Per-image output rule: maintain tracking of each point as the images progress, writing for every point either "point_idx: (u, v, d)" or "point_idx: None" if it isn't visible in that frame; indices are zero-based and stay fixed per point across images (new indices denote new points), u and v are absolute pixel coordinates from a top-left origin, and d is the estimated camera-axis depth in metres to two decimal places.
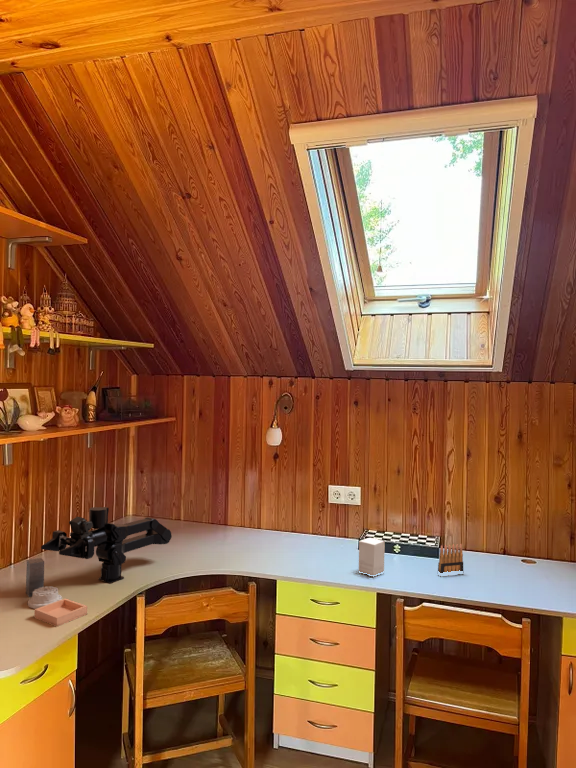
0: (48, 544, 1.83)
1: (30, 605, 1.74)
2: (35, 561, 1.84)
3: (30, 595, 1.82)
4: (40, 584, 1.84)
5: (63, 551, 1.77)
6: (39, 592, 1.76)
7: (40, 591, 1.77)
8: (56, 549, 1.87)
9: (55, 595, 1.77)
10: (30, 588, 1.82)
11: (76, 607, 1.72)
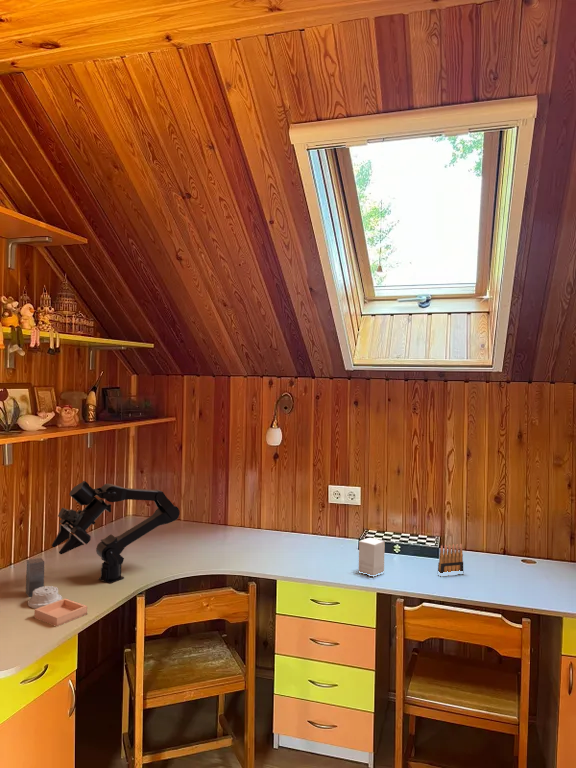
0: (57, 540, 1.93)
1: (30, 604, 1.74)
2: (35, 561, 1.84)
3: (30, 595, 1.82)
4: (40, 584, 1.84)
5: (62, 550, 1.85)
6: (39, 592, 1.76)
7: (40, 591, 1.77)
8: (69, 536, 1.96)
9: (55, 595, 1.77)
10: (30, 588, 1.82)
11: (76, 607, 1.72)
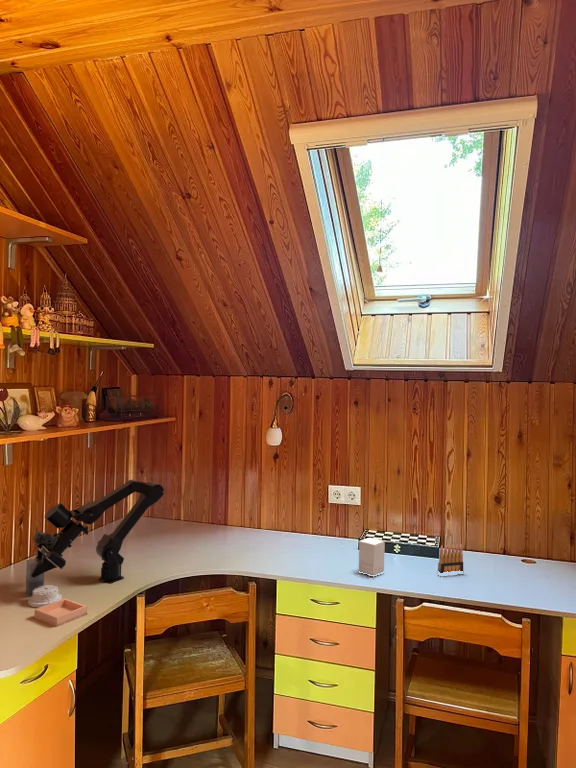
0: None
1: (30, 604, 1.75)
2: (35, 561, 1.84)
3: (30, 595, 1.82)
4: (40, 584, 1.84)
5: (34, 573, 1.82)
6: (39, 591, 1.77)
7: (40, 590, 1.77)
8: None
9: (55, 594, 1.78)
10: (30, 588, 1.82)
11: (76, 607, 1.72)
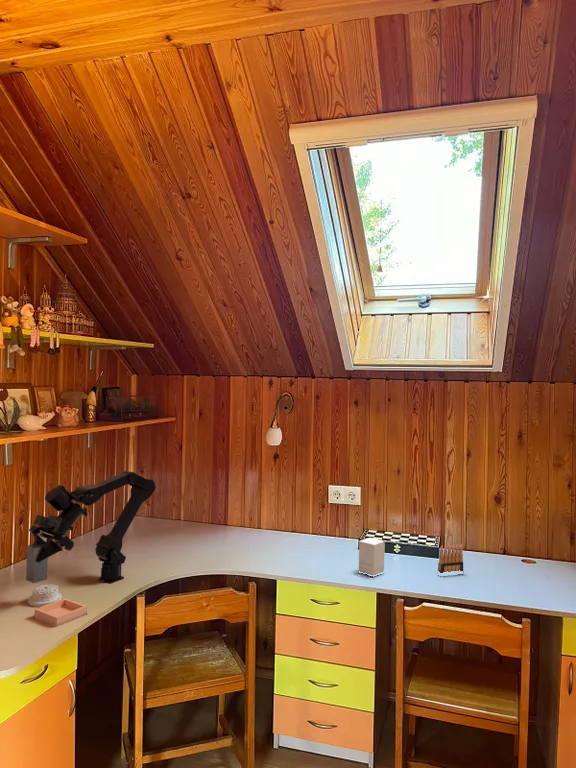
0: None
1: (30, 603, 1.76)
2: (38, 546, 1.77)
3: (34, 581, 1.75)
4: (44, 569, 1.78)
5: (39, 558, 1.76)
6: (39, 590, 1.77)
7: (40, 589, 1.78)
8: None
9: (55, 593, 1.79)
10: (35, 574, 1.75)
11: (76, 607, 1.72)
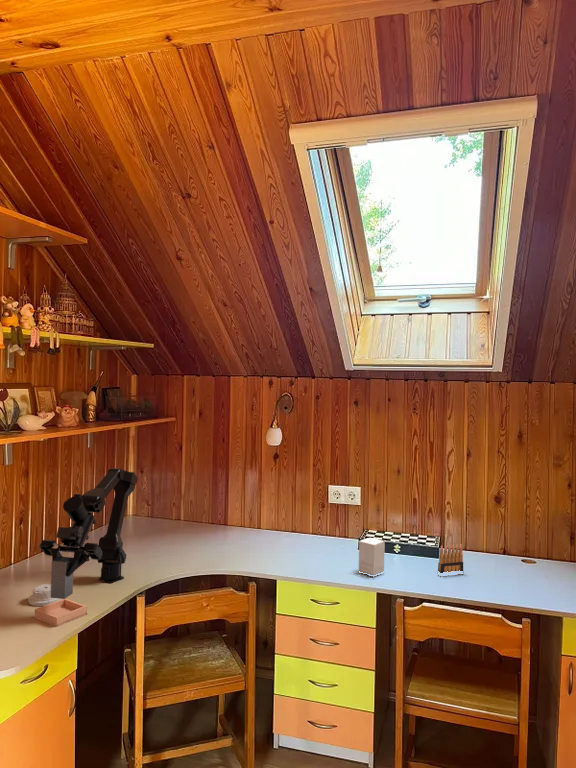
0: None
1: (30, 602, 1.76)
2: (64, 559, 1.68)
3: (65, 596, 1.66)
4: (71, 583, 1.69)
5: (70, 572, 1.67)
6: (39, 590, 1.78)
7: (40, 589, 1.79)
8: None
9: None
10: (65, 589, 1.66)
11: (76, 607, 1.72)
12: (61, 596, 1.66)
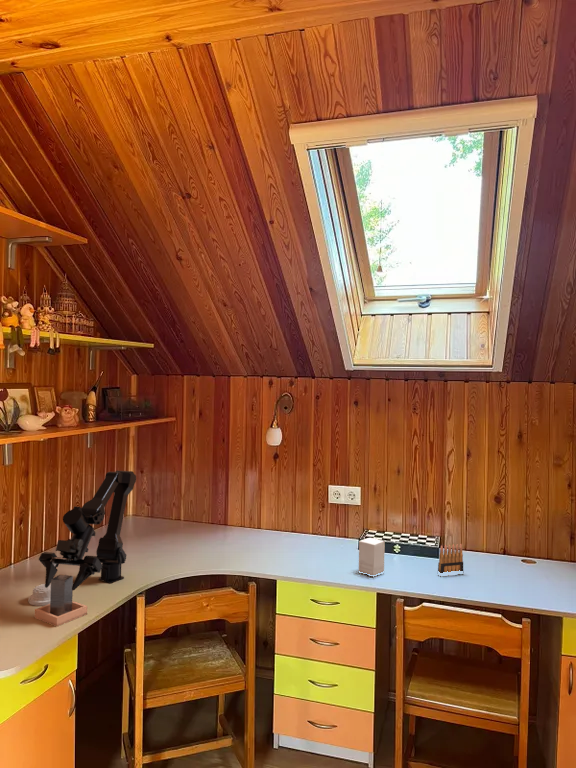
0: (49, 578, 1.69)
1: (30, 602, 1.76)
2: (64, 578, 1.68)
3: None
4: (70, 601, 1.69)
5: (75, 585, 1.67)
6: (39, 589, 1.78)
7: (40, 588, 1.79)
8: (55, 571, 1.73)
9: None
10: (64, 607, 1.66)
11: (76, 607, 1.72)
12: None
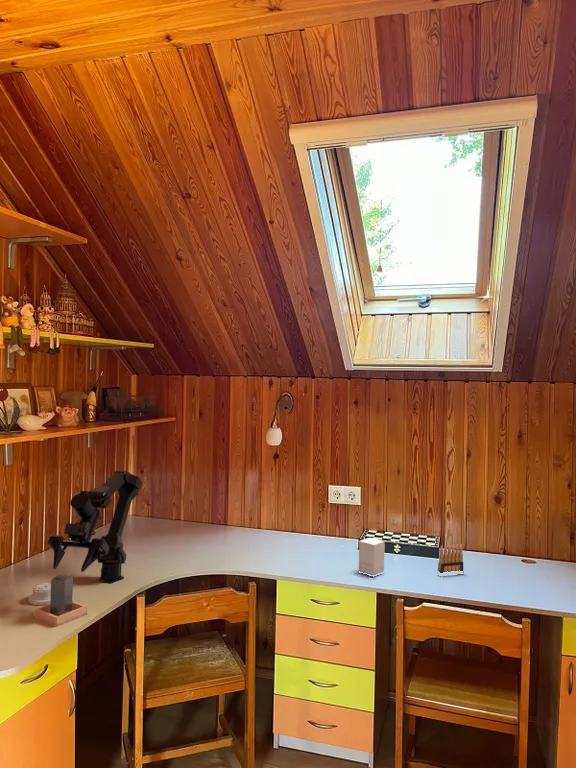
0: (57, 560, 1.74)
1: (30, 601, 1.77)
2: (64, 578, 1.68)
3: None
4: (70, 601, 1.69)
5: (84, 567, 1.71)
6: (39, 588, 1.79)
7: (40, 588, 1.79)
8: (63, 554, 1.78)
9: None
10: (64, 607, 1.66)
11: (76, 607, 1.72)
12: None
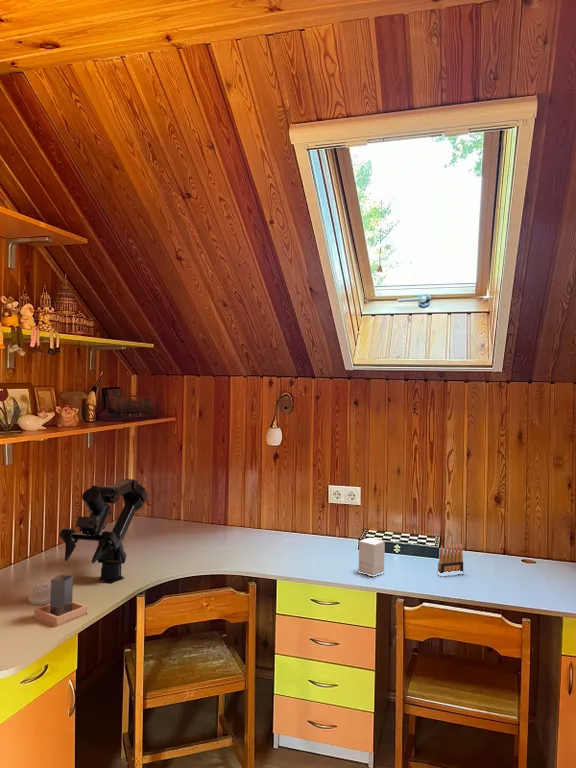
0: (68, 552, 1.80)
1: (30, 601, 1.77)
2: (64, 578, 1.68)
3: None
4: (70, 601, 1.69)
5: (95, 559, 1.77)
6: (39, 588, 1.79)
7: (40, 587, 1.80)
8: (74, 546, 1.84)
9: None
10: (64, 607, 1.66)
11: (76, 607, 1.72)
12: None
